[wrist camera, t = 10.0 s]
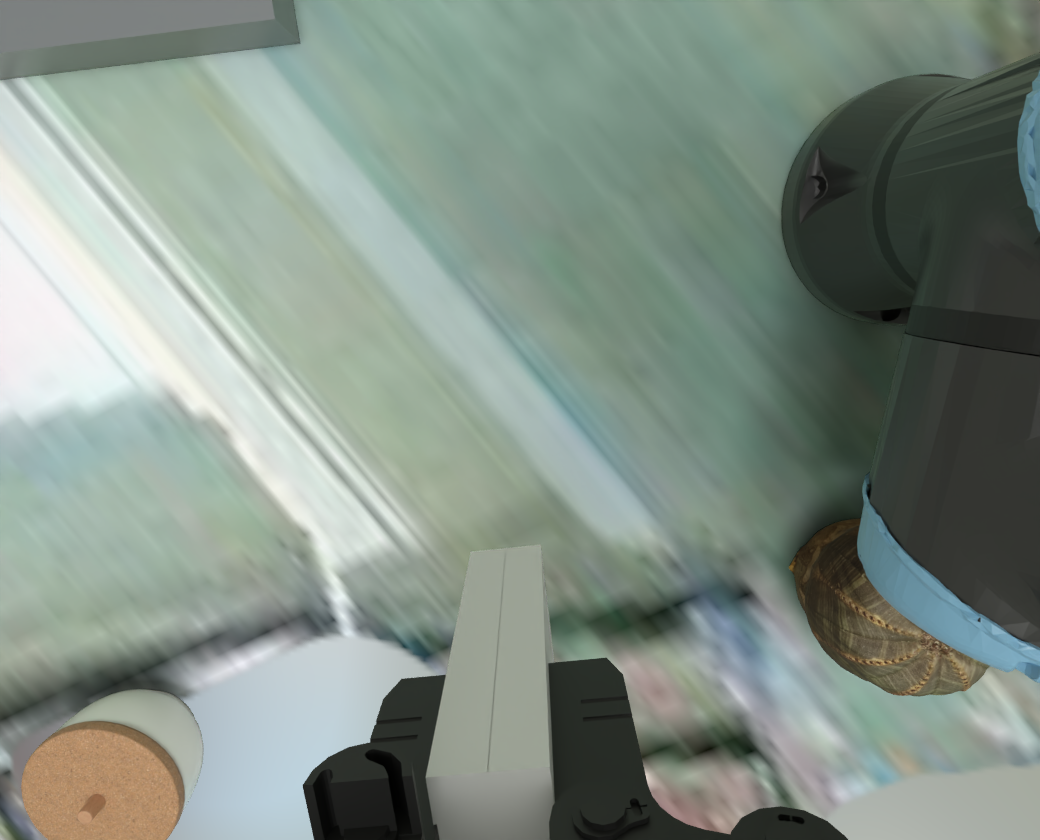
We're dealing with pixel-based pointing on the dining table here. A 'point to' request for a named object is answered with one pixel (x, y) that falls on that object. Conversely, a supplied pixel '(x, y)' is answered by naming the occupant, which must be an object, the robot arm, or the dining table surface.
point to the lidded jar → (116, 770)
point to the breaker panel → (133, 31)
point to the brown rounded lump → (871, 622)
